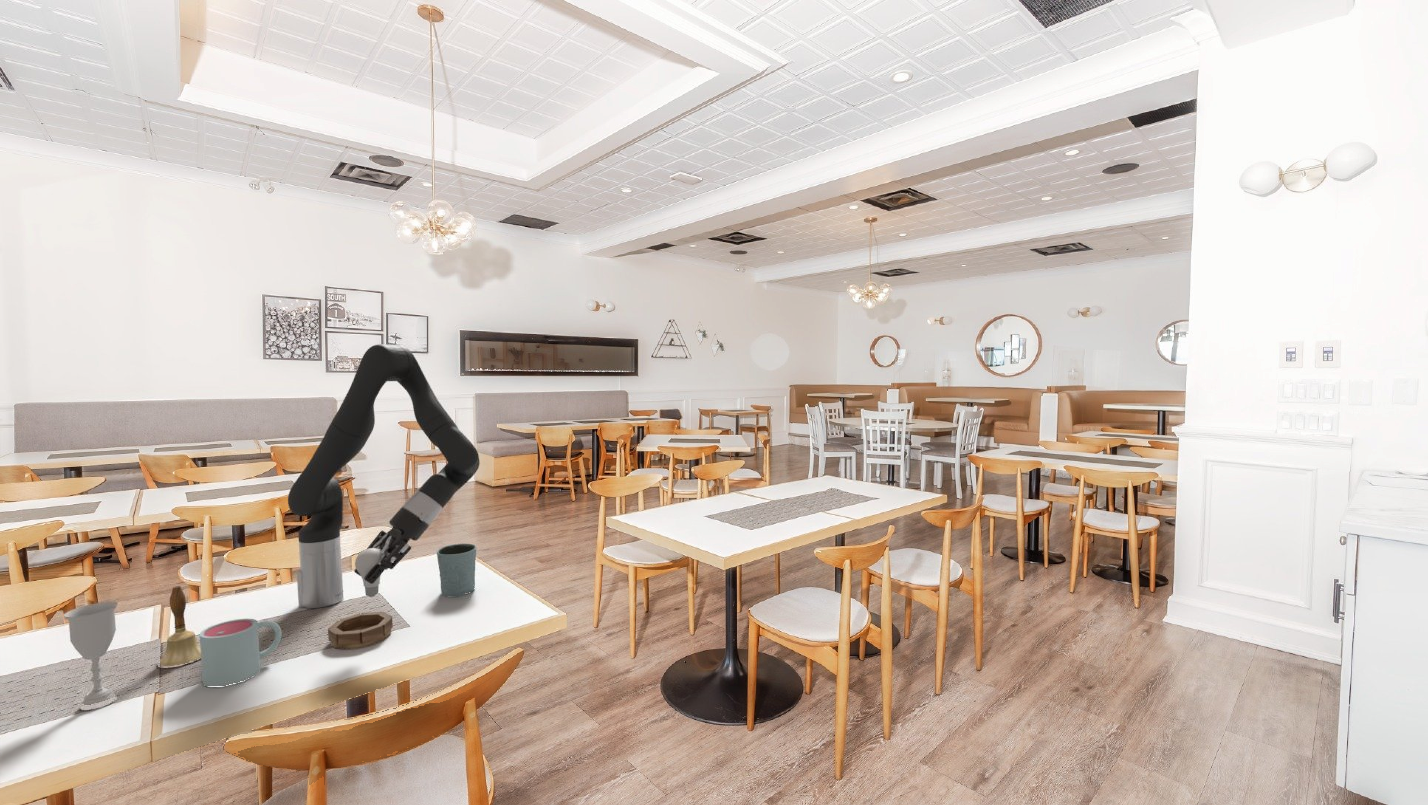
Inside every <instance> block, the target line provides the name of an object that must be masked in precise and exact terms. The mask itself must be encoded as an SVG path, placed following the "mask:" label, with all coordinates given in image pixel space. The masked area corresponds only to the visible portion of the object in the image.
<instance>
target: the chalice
mask: <svg viewBox="0 0 1428 805" xmlns="http://www.w3.org/2000/svg"><path fill="white" fill-rule="evenodd" d="M118 604H119V603H118V602H117V601H104V602H103V601H101V602H97V603H92V604H87V605H83V606H79V607H76V608H74V609H71V610H69V611H66V612H65V613H64V614H63V615H64V618H66V620H68V626H69V638H70V640H69V641H70V643H71V644H72V646H73V648H74V649H75V650H76V651H77V653H79V655H80V656H81V657H82V658H83V659H84V660H88V661H89V660H90V661H91V663H92V664H91V667H90V669H89V671H90V672H91V673H92V677H91V678H90V682H92V683H93V688H92V690H91V691H89V692H87V693H86V695H85V696H84V697H83V701H82V702H81V705H82V704H84V705H91V704H94V703H99V702H102V701H105V700H108V699H110V698H111V697H113V696H114V695H115V696H116V694H115V692H113V690H112V689H111V688H110V687H104V686H103V685H102V679H103V678H104V677H105V676H104V675H102V674H101V671H102V670H101V669H102V668H103V666H102V665H101V663H100V658H101V657H103V656H104V655H106V653H107V652H108V650H109V647H110V646H111V644H112V642H113V639H114V637H115V634H116V631H117V628H116V614H115V611H116V608H117V607H118Z"/></svg>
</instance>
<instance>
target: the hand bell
mask: <svg viewBox="0 0 1428 805" xmlns="http://www.w3.org/2000/svg"><path fill="white" fill-rule="evenodd" d="M186 606H187V599H186V595H185V593H184V591H183V589H182V587H181V586H180V585H177V586H173V587H172V590H171V593H170V596H169V607H170V611H171V613H172V614H173V618H174V633H173V634H171V635H170V636H169V637H168V638H167V639H166V640H167V641H166V649H165V652H164V654H163V656H162V657H161V659H159V661H160V664H161V665H163V666H174V665H180V664H185V663H189V662H190V661H195V660H197V659H199V658H201V648H200V644H199V642H198V641H197V637H196V633H195V632H194V631H193V630H187V629H186V622H185V621H186V620H185V610H186Z"/></svg>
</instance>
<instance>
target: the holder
mask: <svg viewBox="0 0 1428 805" xmlns="http://www.w3.org/2000/svg"><path fill="white" fill-rule="evenodd" d="M393 624H394V623H393V615H391V614H388V613H387V612H385V611H373V612H371V611H370V612H362V613H357V614H354V615H351V616H350V615H349V616H347V617H344V618H340V619H339V620H337V621H335V622H334V623H333V624H332V625H330V626H329V627H328V628H327V631H328V632H327V636H328V641H329V642H330V646H331V647H332V648H334V649H336V650H341V651H343V650H355V649H361V648H366V647H370V646H373V645H375V644H378V643H380V642H382V641H384V640H386V639H387V638H388V637H390V635H391V633H392V629H393Z"/></svg>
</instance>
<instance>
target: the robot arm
mask: <svg viewBox="0 0 1428 805" xmlns="http://www.w3.org/2000/svg"><path fill="white" fill-rule="evenodd" d="M387 382H397V383H398V384H399V385H401V387H402V388H403V389H404V390H405V391H406V392H407V394H408V395H409V397H410V399H411V403H412V408H413V413H414V418H415V420H416V422H417V424H418V425H419V428H420V429H421V430H422V432H423V433H424V434H425V436H426V438H428V440H429V441H430V443H432V444H433V446H435V447H436V448H438V450H439V452H441V454H442V456H443V457H444V459H445V460H446V461H447V463H446V464H445V466H443V467H442V469H440V470H439V472H438V473H434V474H432V475H431V476H429V478H428V479H427V480H425V482H424V483H423V484H422V485H421V486H420V488H419V489H417V491H416V492H415V493H414V494H413V495H412V496H411V497H409V498H408V499H407V501H406V502H405V503H404V504H403V505H402V507H400V508H399V510H398V511H397V512H396V513H395V514H394V515H393V517H391V518H390V520H389V522H388V524H389V525H390V526H391V527H392V528H391V529H390V530H388V531H387V532H385V531H384V530H381V531H380V532H379V533H378V534H377V535H376V537H375V538H374V539H373V540H372V542H370V544H369V545H368V546H367V548H366V549H369V548H376V549H379V550H381V553H380V554H381V557H380V559H379V560H378V562H377V564H378V565H375V566H374V567H373V568H372V569H371V570H370V571H369V572H368V574H367V575H366V576H365V577H364V580H366V581H367V582H369V583H370V584H373V583H374V582H375V581H376V580H377V578H378V577H379V576H380V575H381V576H382V574H383V572H385V571H387V570H388V569H390V570H394V569H395V567H396V566H397V564H398V563H399V562H401V561H402V559H403V558H404V557H405V556H406V555H407V554H408V553H409V552H410V551H411V550H412V546H410V545H409V544H408V543H409V541H410V540H412V541H418V540H419V539H420V538H421V536H422V535H423V534H424V533H425V531H427V529H428V528H429V527H430V525H431V524H432V523H433V522H434V521H435V520H436V519H437V517H438V516H439V514H440V513H441V511H442V510H443V508H445V506H446V505H447V504H448V503H449V501H450V500H451V499H452V498H453V496H454V495H455V494H456V493H457V491H459V490H460V489H461V488H462V487H463V486H464V485H465V484H466V483H468V482H469V481H470V480H471V479H472V478H473V476H475V474H476V473H477V471H478V469H479V468H480V464H481V463H480V456H479V452H478V450H477V448H476V447H475V445H474V444H473V443H472V442H471V441H470V440H469V439H468V437H467V436H466V435H465V434H464V433H463V432H462V431H461V430H460V429H459V427H458V425H457V424H456V422H454V420H453V419H452V417H451V416H450V414H448V412H447V411H446V410H445V408H444V407H443V405H442V404H441V402H439V400H438V398H437V396H436V394H435V392H434V391H433V389H432V388H431V385H430V383H429V382H428V379H427V378H426V376H425V374H424V372H423V370H422V367H421V366H420V364H419V362H418V361H417V359H416V357H415V355H414V354H413V352H412V351H411V350H410V349H409V348H408V347H406V346H403V345H400V344H383V343H381V344H380V343H379V344H374V345H372V346H370V347H369V348H368V349H367V350H366V351H365V352H364V354H363V355H362V357H361V360H360V362H359V365H358V368H357V370H356V372H355V374H354V377H353V379H352V382H351V384H350V387H349V389H348V391H347V392H346V394H345V397H344V399H343V401H342V403H341V404H340V407H339V408H338V410H337V411H336V413H335V415H334V416H333V419H332V421H331V423H330V424H329V426H328V428H327V429H326V432H325V434H324V436H323V437H322V439H321V441H320V443H319V444H318V447H317V448H316V450H315V452H314V454H313V455H312V457H311V459H310V460H309V462H308V463H307V465H306V466H305V468H304V469H303V470H302V472H301V473H300V475H299V476H298V478H297V479H296V480H295V482H294V483H293V484H292V486H291V488H290V490H289V492H288V495H287V504H288V508H289V510H290V511H291V513H292V514H294V515H295V516H298V517H309V516H311V517H310V519H309V521H308V522H306V524H305V525H304V526H302V527H301V528H300V529H299V531H298V535H297V536H298V538H297V539H298V550H299V552H298V554H299V565H300V566H299V567H300V568H299V569H298V570H297V571H296V581H297V596H298V597H297V599H298V608H307V609H317V608H323V607H330V606H333V605H335V604H338V603H339V602H341V601H343V599H344V584H343V582H344V581H343V568H342V567H343V566H342V565H343V564H342V548H341V547H342V546H341V528H342V526H343V519H344V518H343V517H344V516H343V514H344V513H343V511H344V510H343V509H344V505H343V503H344V499H343V498H344V497H343V489H342V487H341V484H340V483H339V481H338V480H337V479H336V478H334V476H335V475H336V474H337V473H338V472H339V471H340V470H341V469H342V468H344V467H345V466H346V465H348V464H349V462H350V461H352V460H353V459H354V458H355V457H356V456H357V455H358V454H360V452H361V451H362V450H363V448H364V447H365V445H366V443H367V442H368V441H369V440H368V439H369V438H370V436H371V435H372V433H373V430H374V428H375V423H376V422H375V421H376V419H375V417H376V416H375V401H376V398H377V397H378V395H379V393H380V392H381V389H382V388H383V387H384V385H385V384H386V383H387ZM353 573H355V574H357V575H358V576H360V577H361V575H360V574H359V573H358V571H357V569H356V568H355V569H354V571H353ZM381 576H380V577H381Z"/></svg>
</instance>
